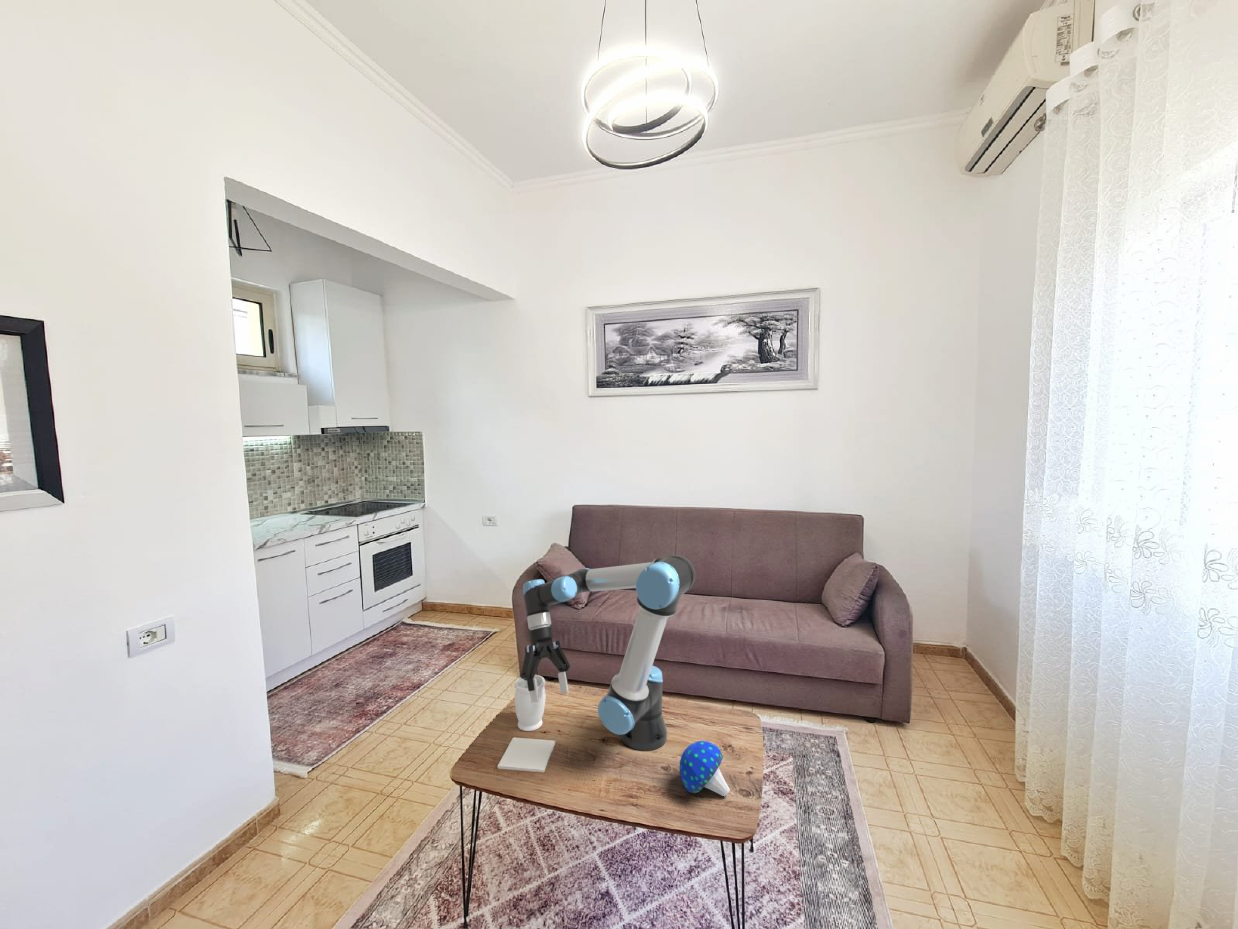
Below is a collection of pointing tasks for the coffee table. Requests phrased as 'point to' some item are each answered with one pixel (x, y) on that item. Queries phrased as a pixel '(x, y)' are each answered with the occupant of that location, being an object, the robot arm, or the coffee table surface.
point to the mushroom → (702, 768)
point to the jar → (529, 704)
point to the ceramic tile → (527, 755)
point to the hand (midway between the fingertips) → (550, 698)
